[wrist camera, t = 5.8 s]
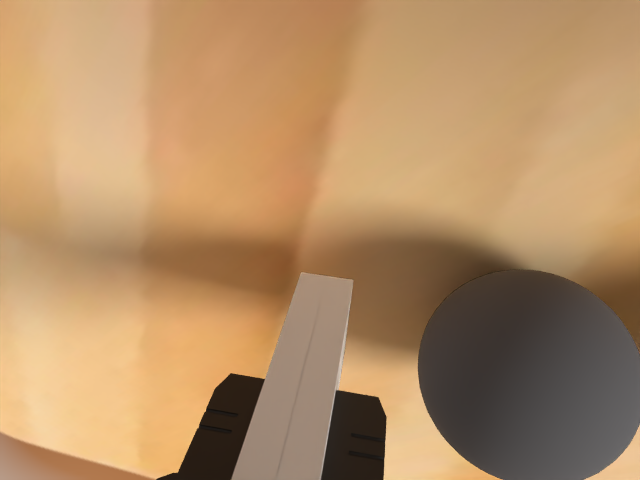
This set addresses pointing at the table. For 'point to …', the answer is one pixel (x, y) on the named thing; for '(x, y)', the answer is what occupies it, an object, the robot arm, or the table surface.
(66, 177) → the table surface
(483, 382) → the dark gray ball
